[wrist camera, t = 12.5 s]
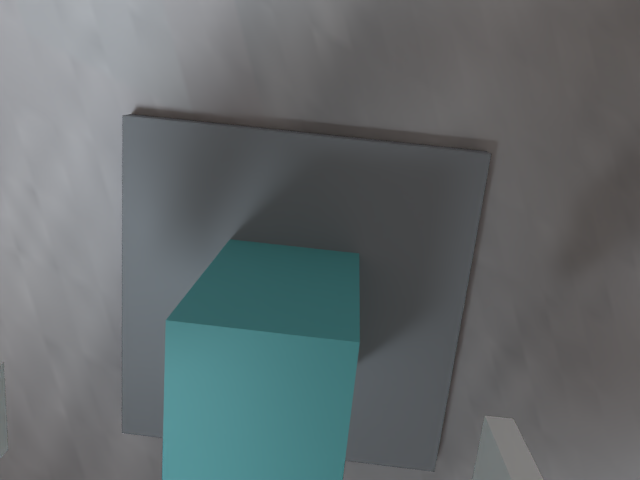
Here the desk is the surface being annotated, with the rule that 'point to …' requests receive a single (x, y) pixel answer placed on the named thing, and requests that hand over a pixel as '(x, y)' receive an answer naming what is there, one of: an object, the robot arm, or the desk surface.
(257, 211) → the stand
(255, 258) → the teal rectangular block
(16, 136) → the desk surface
